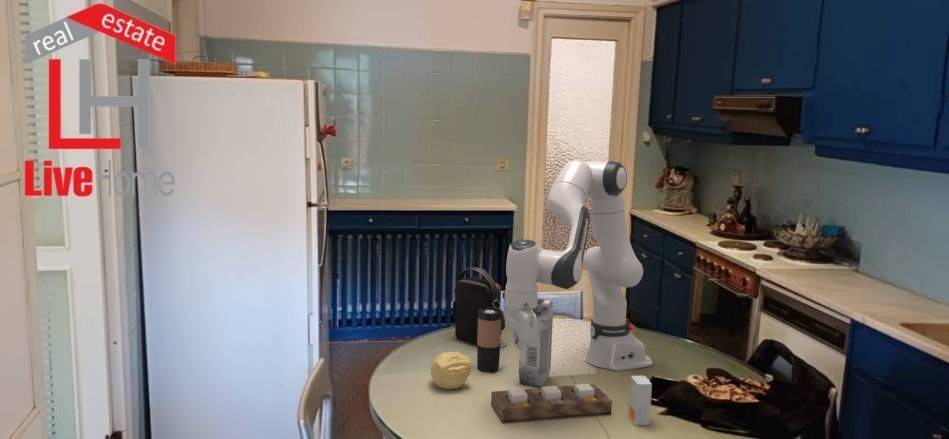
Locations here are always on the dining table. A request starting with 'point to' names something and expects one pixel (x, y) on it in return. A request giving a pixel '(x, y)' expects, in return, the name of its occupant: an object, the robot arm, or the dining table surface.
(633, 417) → the skincare box
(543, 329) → the juice carton
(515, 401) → the button
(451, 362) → the sculpture
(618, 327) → the robot arm
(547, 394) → the button middle
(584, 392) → the button
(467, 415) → the dining table surface
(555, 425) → the dining table surface
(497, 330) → the travel mug
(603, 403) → the button board
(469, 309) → the shoulder bag
